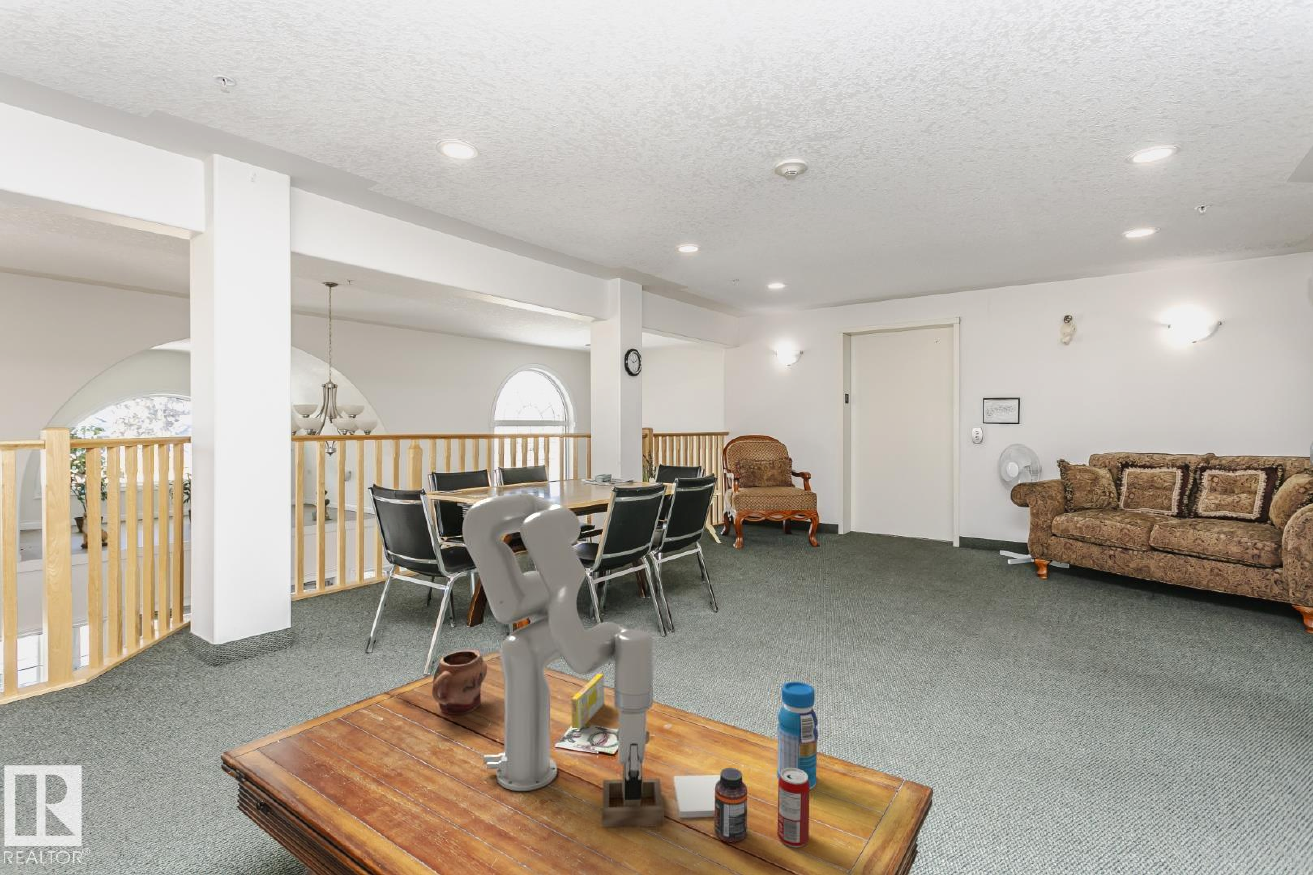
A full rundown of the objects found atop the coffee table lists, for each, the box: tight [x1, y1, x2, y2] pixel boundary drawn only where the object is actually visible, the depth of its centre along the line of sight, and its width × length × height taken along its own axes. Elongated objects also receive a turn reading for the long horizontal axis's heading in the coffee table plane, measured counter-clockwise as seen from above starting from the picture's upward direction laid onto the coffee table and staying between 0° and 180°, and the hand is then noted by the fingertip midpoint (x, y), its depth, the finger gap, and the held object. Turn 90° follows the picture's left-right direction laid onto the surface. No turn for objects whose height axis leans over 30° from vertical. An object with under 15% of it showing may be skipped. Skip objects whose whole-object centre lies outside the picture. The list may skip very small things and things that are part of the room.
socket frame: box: [601, 777, 665, 828], centre depth 122 cm, size 11×10×3 cm
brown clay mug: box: [431, 649, 488, 715], centre depth 163 cm, size 20×12×14 cm, turn 168°
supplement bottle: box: [713, 767, 748, 843], centre depth 116 cm, size 6×6×11 cm
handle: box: [616, 730, 650, 807], centre depth 122 cm, size 5×6×15 cm
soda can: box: [777, 768, 811, 848], centre depth 114 cm, size 6×6×12 cm
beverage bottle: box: [776, 681, 819, 790], centre depth 133 cm, size 8×8×20 cm
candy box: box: [570, 673, 605, 729], centre depth 161 cm, size 16×2×8 cm, turn 162°
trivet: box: [673, 774, 720, 819], centre depth 126 cm, size 12×12×1 cm
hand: (632, 785), depth 122 cm, fingers open, 7 cm apart
